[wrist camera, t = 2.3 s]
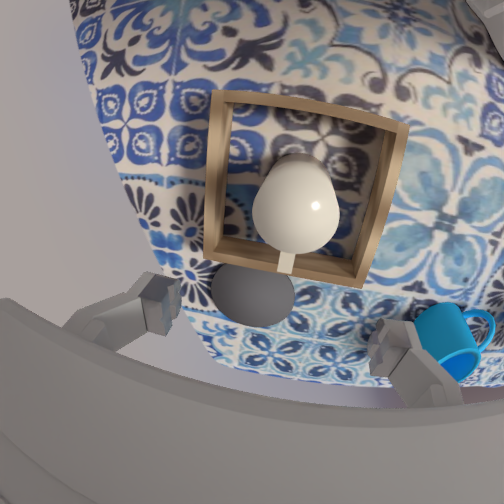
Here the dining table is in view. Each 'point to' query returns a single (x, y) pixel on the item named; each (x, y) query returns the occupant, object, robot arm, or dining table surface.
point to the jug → (296, 208)
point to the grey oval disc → (252, 295)
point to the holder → (265, 254)
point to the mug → (452, 338)
